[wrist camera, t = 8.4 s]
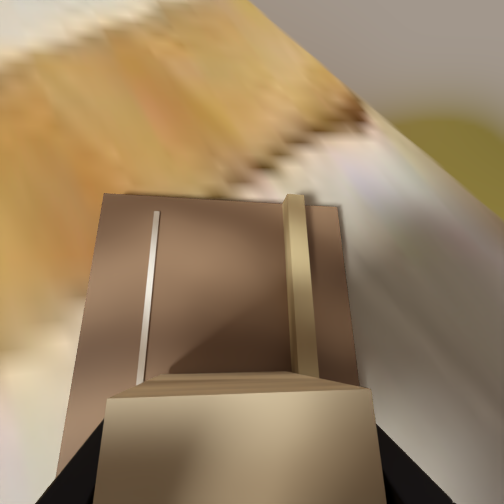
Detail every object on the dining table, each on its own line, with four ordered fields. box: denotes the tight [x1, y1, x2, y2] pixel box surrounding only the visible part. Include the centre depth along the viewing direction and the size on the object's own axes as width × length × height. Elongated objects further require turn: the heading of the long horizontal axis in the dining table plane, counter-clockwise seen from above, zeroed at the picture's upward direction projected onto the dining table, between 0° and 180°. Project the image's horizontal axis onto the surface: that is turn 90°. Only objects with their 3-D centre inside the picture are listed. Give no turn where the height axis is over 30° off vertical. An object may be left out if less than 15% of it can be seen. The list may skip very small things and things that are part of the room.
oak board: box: [56, 193, 360, 477], centre depth 14 cm, size 18×14×3 cm
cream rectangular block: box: [93, 371, 387, 504], centre depth 10 cm, size 4×7×8 cm, turn 91°
